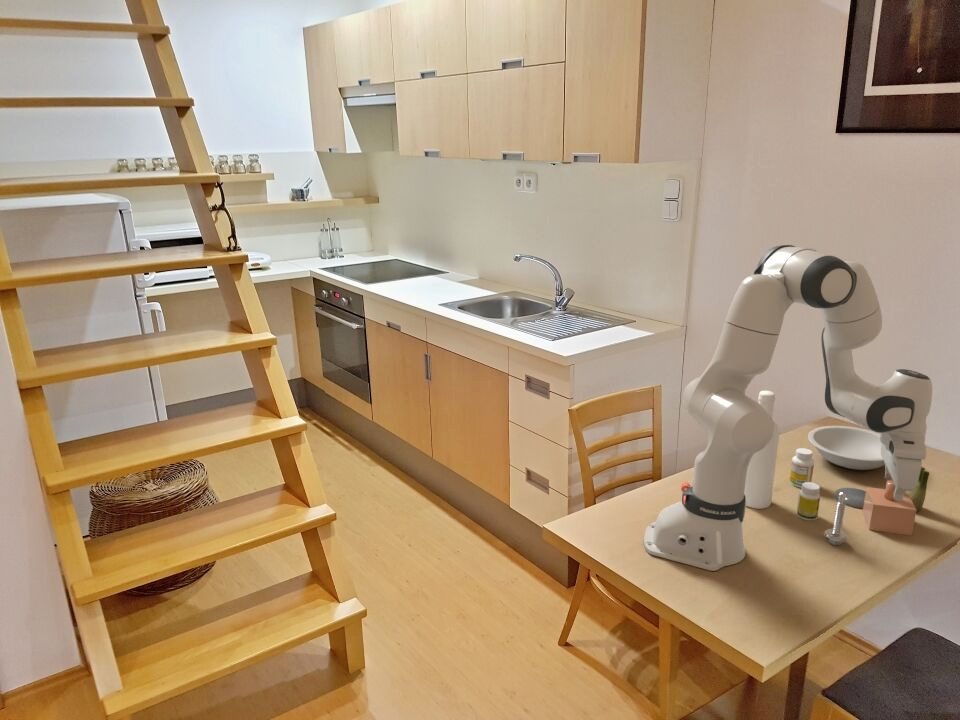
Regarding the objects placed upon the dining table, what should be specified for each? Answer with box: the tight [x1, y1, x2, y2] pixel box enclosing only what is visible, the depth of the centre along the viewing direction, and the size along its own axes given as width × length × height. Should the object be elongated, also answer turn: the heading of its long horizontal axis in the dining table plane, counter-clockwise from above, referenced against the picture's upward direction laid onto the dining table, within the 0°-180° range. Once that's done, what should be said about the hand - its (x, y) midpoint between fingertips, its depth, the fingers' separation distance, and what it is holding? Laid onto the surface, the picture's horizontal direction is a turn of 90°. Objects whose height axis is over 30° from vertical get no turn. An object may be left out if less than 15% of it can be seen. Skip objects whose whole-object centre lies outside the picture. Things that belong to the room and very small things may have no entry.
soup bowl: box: [807, 425, 885, 471], centre depth 204 cm, size 24×24×7 cm
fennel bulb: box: [906, 465, 930, 512], centre depth 178 cm, size 6×5×12 cm
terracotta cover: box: [862, 481, 917, 537], centre depth 171 cm, size 9×9×11 cm
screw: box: [823, 492, 849, 546], centre depth 163 cm, size 13×5×5 cm
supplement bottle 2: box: [796, 481, 821, 521], centre depth 175 cm, size 5×5×8 cm
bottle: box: [744, 390, 780, 510], centre depth 179 cm, size 8×8×30 cm
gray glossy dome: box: [834, 487, 866, 510], centre depth 184 cm, size 10×10×1 cm
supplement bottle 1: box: [789, 447, 815, 489], centre depth 191 cm, size 5×5×10 cm
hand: (893, 489), depth 170 cm, fingers open, 8 cm apart
